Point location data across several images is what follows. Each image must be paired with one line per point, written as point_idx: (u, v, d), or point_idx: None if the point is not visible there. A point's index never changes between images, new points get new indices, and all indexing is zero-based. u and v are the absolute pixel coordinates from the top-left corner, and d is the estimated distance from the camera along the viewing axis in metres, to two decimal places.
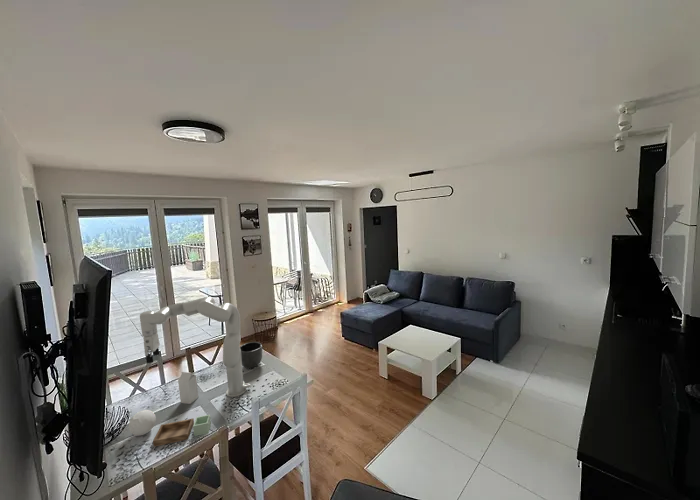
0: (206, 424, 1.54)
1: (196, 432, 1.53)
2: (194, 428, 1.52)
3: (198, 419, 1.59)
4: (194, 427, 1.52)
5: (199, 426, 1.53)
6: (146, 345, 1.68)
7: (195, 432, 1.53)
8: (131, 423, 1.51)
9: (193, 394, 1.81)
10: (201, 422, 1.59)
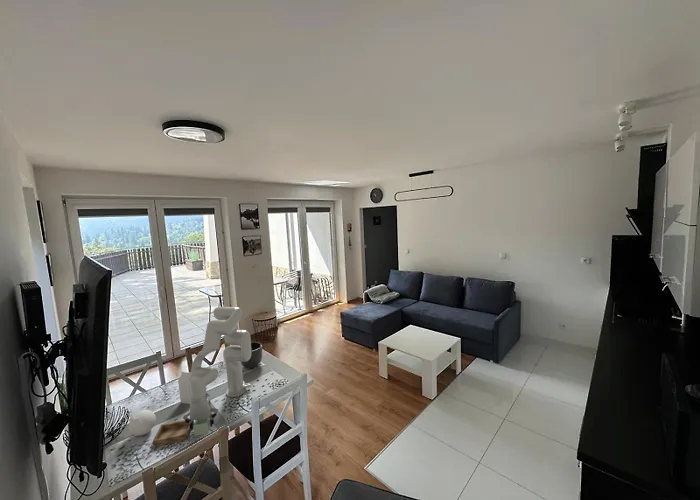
0: (206, 424, 1.54)
1: (196, 432, 1.53)
2: (194, 428, 1.52)
3: None
4: (194, 427, 1.52)
5: (199, 426, 1.53)
6: (210, 407, 1.56)
7: (195, 432, 1.53)
8: (131, 423, 1.51)
9: None
10: (201, 422, 1.59)
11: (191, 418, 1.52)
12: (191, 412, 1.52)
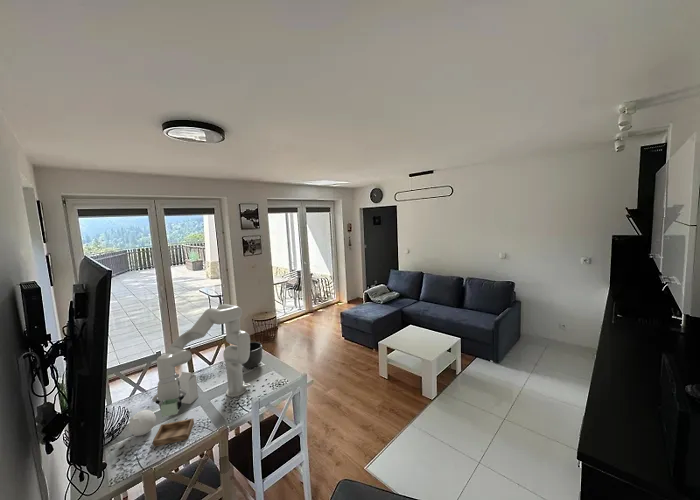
0: (174, 404, 1.49)
1: (164, 412, 1.48)
2: (162, 408, 1.48)
3: (167, 400, 1.54)
4: (162, 407, 1.48)
5: (167, 406, 1.48)
6: (179, 387, 1.52)
7: (163, 412, 1.48)
8: (131, 423, 1.51)
9: (193, 394, 1.81)
10: (170, 403, 1.55)
11: (159, 398, 1.48)
12: (159, 392, 1.48)
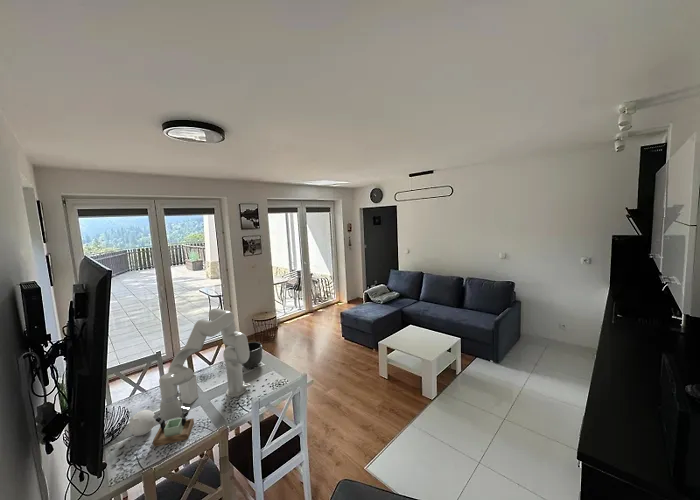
0: (177, 427, 1.51)
1: (167, 435, 1.50)
2: (165, 431, 1.50)
3: (170, 422, 1.56)
4: (165, 430, 1.50)
5: (170, 429, 1.50)
6: (181, 406, 1.53)
7: (166, 435, 1.50)
8: (131, 423, 1.51)
9: (193, 394, 1.81)
10: (173, 425, 1.57)
11: (161, 417, 1.50)
12: (161, 411, 1.49)
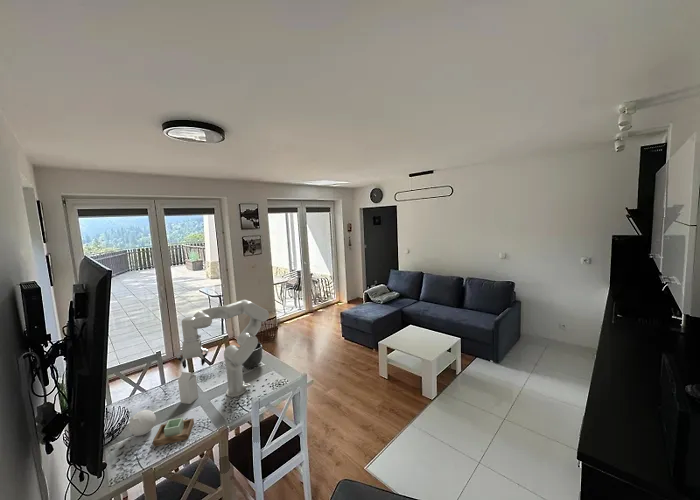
0: (177, 427, 1.51)
1: (167, 435, 1.50)
2: (165, 431, 1.50)
3: (170, 422, 1.56)
4: (165, 430, 1.50)
5: (170, 429, 1.50)
6: (201, 347, 1.69)
7: (166, 435, 1.50)
8: (131, 423, 1.51)
9: (193, 394, 1.81)
10: (173, 425, 1.57)
11: (183, 356, 1.66)
12: (183, 350, 1.65)
